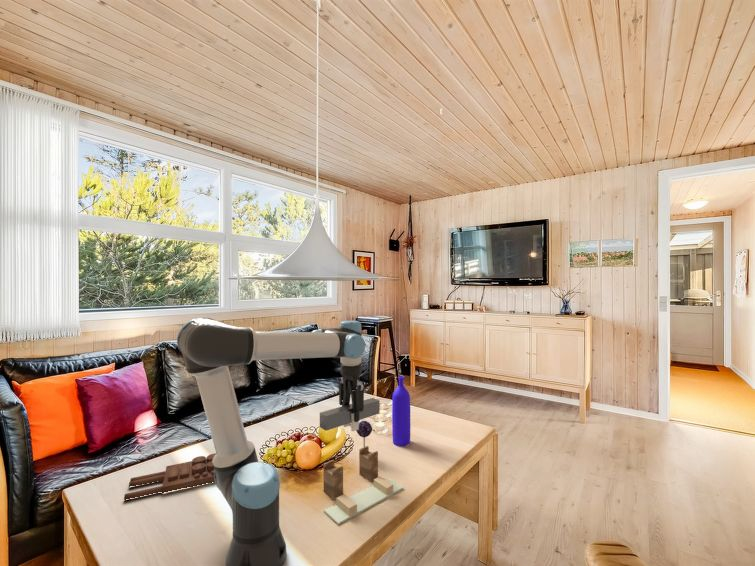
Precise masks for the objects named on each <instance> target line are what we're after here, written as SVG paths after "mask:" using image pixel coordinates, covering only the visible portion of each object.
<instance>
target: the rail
mask: <svg viewBox="0 0 755 566" xmlns="http://www.w3.org/2000/svg"><path fill="white" fill-rule="evenodd" d="M380 410H381V409H380V399H377V398H374V397H371V398H367V399H364V409H363V411H362V412H359V421H362V420H363V419H364V420H365V419H367V418H371V417H373V416H376V415H379V414H380ZM351 412H353V408H352V403H350V404H349V405H345V406H342V405H341V406H338V407H335V408H331V409H328V410H327V409H326V410H325V411H321V412H319V428H320V429H322V430H324V431H325V432H327V431H329V430H333V429H336V428H339V427H342V426H343V427H344V425H346V424H349V423H351Z"/></svg>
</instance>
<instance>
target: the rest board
mask: <svg viewBox="0 0 755 566" xmlns="http://www.w3.org/2000/svg"><path fill="white" fill-rule="evenodd" d="M402 490H404V487H403V486H402V485H401V484H399V483H397V482H396V481H394V480H392V479H391V478H389V477H387V478H383V477H381V476H378V478H376V479H374V480H373V485H372V486H369V487H368V488H365V489H363V490H361V491H359V492H358V493H356V494H354V495H351V496H347V495H346V494H344V493H343V495H341V496H339V497H337V498H336V503H335V504H333V505H332V506H330V507H328V508H326V509H324V510H323V513H324V514H325V515H327V517H328V518H329V519H331V520H332V521H333V522H335V524H336V525H337V526H339V525H341V524H343V523H345V522H347V521H349V520H350V519H352V518H354V517H356V516H357V515H359V514H361V513H362V512H365V511H366V510H368V509H370V508H372V507H374V506H376V505H377V504H380V503H381V502H382V501H385V500H386V499H388V498H390V497H392V496H393V495H395V494H397V493H399V492H401V491H402Z"/></svg>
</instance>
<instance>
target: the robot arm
mask: <svg viewBox="0 0 755 566" xmlns="http://www.w3.org/2000/svg"><path fill="white" fill-rule="evenodd" d="M362 334H363V333H362V323H361V322H360V321H358V320H343V321H340V326H339V327H332V328H319V329H314V330H312V331H309V332H308V331H307V332H305V331H258V330H257V331H255V330H253V328H252V327H250V326H249V327H248V326H245V327H244V326H236V325H231V324H228V323H227V324H226V323H224V322H221V321H218V320H216V319H213V318H212V317H211V318H210V317H197V318H193V319H191V320H189V321H188V322H186V323H185V324H183V326H182V327H181V328H180V330H179V331H178V333H177V337H176V345H177V348H178V350H179V351H180V353H181V354H182V356H183V357H182V358H183V361H184V364H185V367H186V372H187V374H188V375H191V376H192V377H195V380H196V383H197V384H196V385H197V387H198V391H199V394H200V397H201V398H200V399H201V401H202V405H203V409H204V412H205V417H206V420H207V424H208V428H209V431H210V435H211V439H212V443H213V447H214V450H215V453H216V455H215V456H214V458H213V461H212V463H213V466H214V479H215V483H214V484H215V485H216V488H218V490H219V491H220V493H221V494H222V496H223V498H224V499H225V501H226V502H227V505H228V506H229V507H230V510H231V512H232V513H231V514H232V538H231V541H230V544H229V548H228V550H227V554H226V556H225V566H282V565H285V561H286V558H287V544H286V540H285V538H284V535H283V533H282V530H281V527H280V487H281V482H280V479H279V477H280V476H279V472H278V470H277V468H276V467H275V466H274V465H272V464H271V463H268V462H266V463H264V462H262V461H261V462H260V461H259V459H258V455H257V451H256V447H255V444H254V442H252V441H250V440H248V439H247V436H246V435H247V434H246V431H245V426H244V421H243V419H242V415H241V411H240V407H239V403H238V399H237V395H236V391H235V388H234V384H233V380H232V376H231V371H230V368H229V367H231V366H241V365H243V366H244V365H249V364H250V365H251V363H252V362H253V361H265V360H266V361H268V360H289V359H290V360H291V359H292V360H293V359H317V358H340V374H341V376H342V377H339V378H337V383H338V401H339V403H338V404H339V406H341V407H342V406H345V405H349V404H352V408H353V412H351V423H349V424H346V425H343V427H344V428H346V427H350V429H351V430H350V431H351V432H355V431H356V430H358V429H359V423H360V420H359V412H362V411H363V409H364V400H365V398H364V397H365V388H366V384H365V383H361V380H360V376H361V374H362V364H361V363H362V355H364V353H365V350H366V341H365V339H364V337H363V336H362ZM350 402H351V403H350Z"/></svg>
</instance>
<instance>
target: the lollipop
mask: <svg viewBox="0 0 755 566" xmlns="http://www.w3.org/2000/svg"><path fill="white" fill-rule="evenodd" d="M355 431H356V432H357V436H360V437H361V438H363V447H366V438H367V437H369V436H370V435H371V433H372V432H373V426H372V424H371V423H370V422H369V421H367V420H360V421H359V429H358V430H355Z"/></svg>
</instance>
